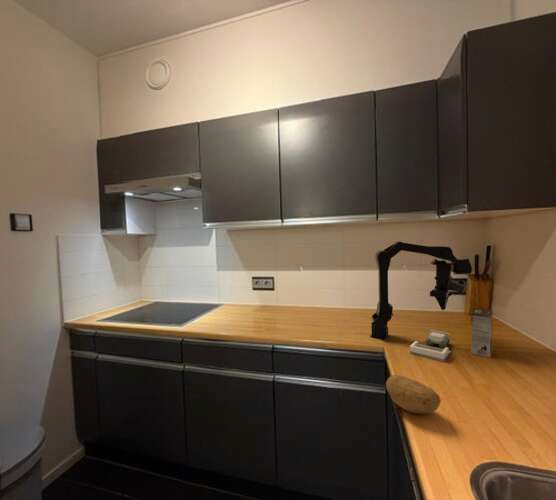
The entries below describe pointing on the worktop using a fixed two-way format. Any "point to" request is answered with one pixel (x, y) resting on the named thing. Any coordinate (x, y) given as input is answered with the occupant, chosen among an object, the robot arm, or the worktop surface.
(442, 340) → the trolley
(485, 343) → the coffee box
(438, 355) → the dock
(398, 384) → the potato
